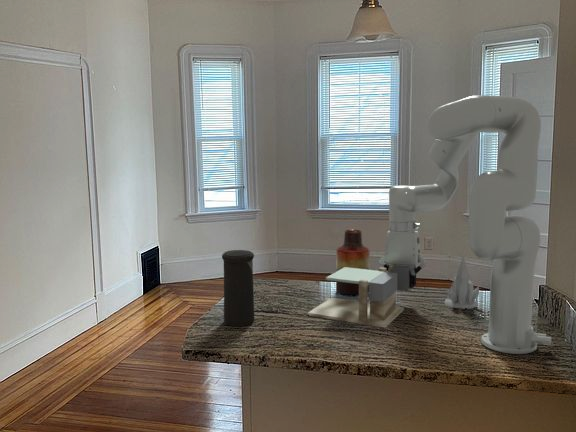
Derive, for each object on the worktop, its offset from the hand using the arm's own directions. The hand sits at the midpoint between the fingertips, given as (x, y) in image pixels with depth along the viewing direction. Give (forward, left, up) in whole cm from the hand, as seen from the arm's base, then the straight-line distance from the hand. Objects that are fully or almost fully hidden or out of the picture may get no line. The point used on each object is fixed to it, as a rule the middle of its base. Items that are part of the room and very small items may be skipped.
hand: (402, 286), depth 167 cm
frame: (+9, +14, -6) cm, 18 cm away
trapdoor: (+8, +14, +1) cm, 16 cm away
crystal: (-16, -9, -6) cm, 19 cm away
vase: (+18, -6, -6) cm, 20 cm away
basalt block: (0, 0, -1) cm, 1 cm away
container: (+35, +36, -6) cm, 51 cm away
